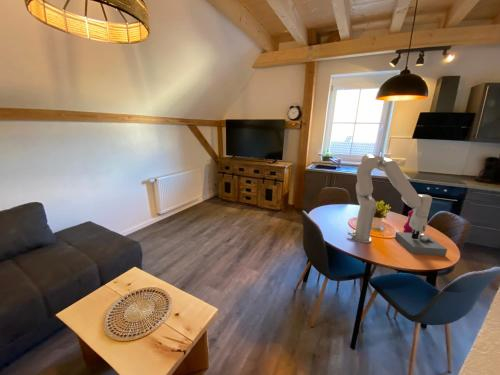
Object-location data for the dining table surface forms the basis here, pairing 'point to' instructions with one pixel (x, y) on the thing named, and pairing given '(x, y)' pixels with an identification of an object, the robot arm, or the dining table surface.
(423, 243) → the board
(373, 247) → the dining table surface
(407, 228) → the pepper mill
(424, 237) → the ball
